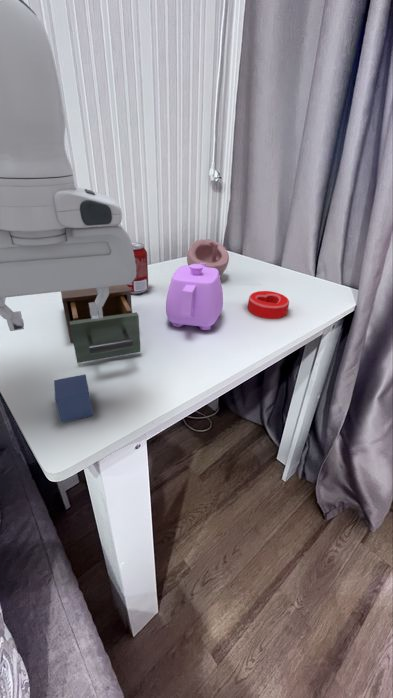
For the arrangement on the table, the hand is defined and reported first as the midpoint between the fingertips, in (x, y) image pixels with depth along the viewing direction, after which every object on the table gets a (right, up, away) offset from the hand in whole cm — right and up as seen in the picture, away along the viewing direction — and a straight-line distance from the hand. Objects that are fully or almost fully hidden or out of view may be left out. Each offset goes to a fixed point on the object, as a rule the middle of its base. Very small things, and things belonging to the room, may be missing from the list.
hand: (58, 322), depth 42 cm
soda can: (+1, +12, +47) cm, 48 cm away
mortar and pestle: (+21, +17, +57) cm, 63 cm away
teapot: (+17, +3, +34) cm, 39 cm away
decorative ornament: (+35, +6, +40) cm, 54 cm away
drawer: (0, -3, +22) cm, 22 cm away
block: (-1, -12, +8) cm, 15 cm away
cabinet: (-4, +3, +31) cm, 32 cm away
